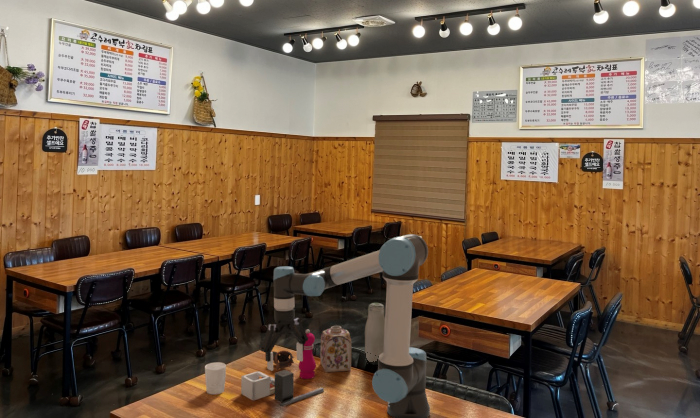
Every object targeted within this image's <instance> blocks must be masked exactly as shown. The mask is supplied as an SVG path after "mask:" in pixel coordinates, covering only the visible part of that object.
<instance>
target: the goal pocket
mask: <svg viewBox="0 0 700 418" xmlns="http://www.w3.org/2000/svg"><path fill="white" fill-rule="evenodd" d="M267 375H268V374H265V373H263V372H261V371H259V370H258V371H254V372H251V373H248V374H244V375H241V377H240V378H241V380H240V381H241V382H240V383H241V386H240V387H241V388H240V389H241V393H240V394H241V395H242V396H244V397H246V398H248V399H250V400H251V401H252V402H254V401H257V400H259V399H262V398H265V397H268V396H271V395H270V377H271V376H270V375H268V376H267ZM269 376H270V377H269ZM262 377H263V378H262Z"/></svg>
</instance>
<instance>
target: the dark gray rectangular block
mask: <svg viewBox="0 0 700 418" xmlns="http://www.w3.org/2000/svg"><path fill="white" fill-rule="evenodd" d="M266 375H267V376H269V377H270V388H273V386H274V387H275V393H274V400H275V401H276V402H277V401H278V402H279V403H280V402H283V401H286V400H288V399H291V398H294V387H293V382H294V377H295V374H294V373H293V372H291V371H289V370H287V369H283V370H280V371H277V372H274V377H273V376H270V375H268V374H266ZM262 378H263V377H261V379H262ZM274 378H275V379H274ZM294 383H295V382H294Z"/></svg>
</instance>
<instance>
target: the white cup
mask: <svg viewBox="0 0 700 418" xmlns="http://www.w3.org/2000/svg"><path fill="white" fill-rule="evenodd" d="M226 370H227V365H226V364H225V363H224V362H221V361H220V362H219V361H218V362H210V363H207V364H206V365H204V376H205V385H206V386H205V387H206V388H205V389H206V393H207V394H208V395H219V394H222V393H224V392H225V384H226V372H227V371H226Z"/></svg>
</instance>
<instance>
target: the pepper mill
mask: <svg viewBox="0 0 700 418" xmlns="http://www.w3.org/2000/svg"><path fill="white" fill-rule="evenodd" d="M305 333H306V335H307V337H308V341H306V343H305V344H304V351H303V361H299V363H298V369H299V377H300V379H304V380H310V379H314V378H315V377H316V373H315V370H316V368H317V363H316V360H315V358H314V354H313V349H314V343H315V341H316V340H315V339H316V338H315V335H314V334H313V333H312V332H311V331H310V329H305Z"/></svg>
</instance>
